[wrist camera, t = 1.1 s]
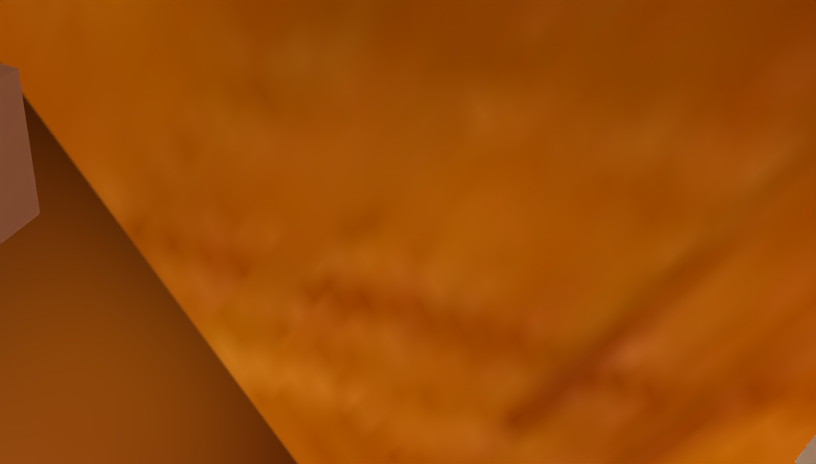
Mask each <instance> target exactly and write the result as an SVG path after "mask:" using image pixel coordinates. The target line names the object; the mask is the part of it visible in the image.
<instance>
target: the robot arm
mask: <svg viewBox="0 0 816 464" xmlns="http://www.w3.org/2000/svg"><path fill="white" fill-rule="evenodd" d="M38 214H40V211H39V204H38V198H37V191H36V185H35V178H34V171H33V165H32V158H31V151H30V145H29V138H28V131H27V125H26V119H25V111H24V105H23V98H22V92H21V85H20V78H19V72H18V69H17V68H14V67H10V66H7V65H4V64H0V244H1V243H2V242H3V241H5V240H6V239H7V238H9V237H10V236H11V235H13V234H14V233H15V232H16V231H18V230H19V229H20V228H22V227H23V226H24V225H26V224H27V223H28V222H29V221H31V220H32V219H33V218H34V217H36V216H37V215H38ZM795 463H796V464H816V435H815V436H814V437H813V439H812V440H811V441H810V442H809V444H808V445H807V446H806V447H805V449H804V450H803V451H802V453H801V454H800V455H799V456H798V458H797V459H796V460H795Z"/></svg>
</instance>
